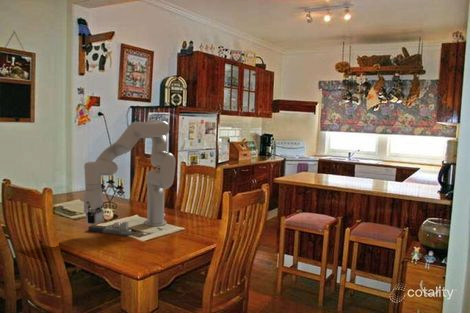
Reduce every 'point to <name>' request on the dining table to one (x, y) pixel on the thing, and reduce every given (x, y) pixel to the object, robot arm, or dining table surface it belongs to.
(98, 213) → the socket
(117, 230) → the ratchet
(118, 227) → the small socket
